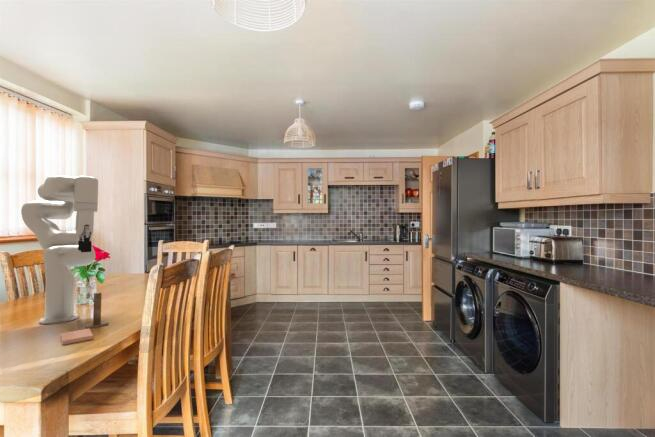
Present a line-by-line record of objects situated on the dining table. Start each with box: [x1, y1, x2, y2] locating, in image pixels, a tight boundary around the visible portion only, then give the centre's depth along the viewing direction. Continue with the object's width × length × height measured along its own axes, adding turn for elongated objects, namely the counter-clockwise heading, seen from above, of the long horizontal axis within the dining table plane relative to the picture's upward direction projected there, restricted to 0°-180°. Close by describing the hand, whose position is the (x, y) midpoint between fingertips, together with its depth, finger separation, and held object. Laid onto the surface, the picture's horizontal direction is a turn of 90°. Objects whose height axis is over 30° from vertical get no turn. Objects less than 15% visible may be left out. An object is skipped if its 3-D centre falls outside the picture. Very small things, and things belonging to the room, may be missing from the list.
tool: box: [84, 292, 109, 329], centre depth 122 cm, size 4×7×14 cm, turn 133°
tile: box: [60, 328, 94, 346], centre depth 109 cm, size 1×8×10 cm
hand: (84, 251), depth 123 cm, fingers open, 9 cm apart
